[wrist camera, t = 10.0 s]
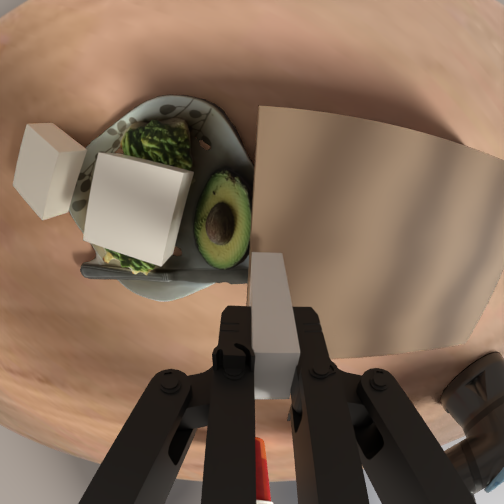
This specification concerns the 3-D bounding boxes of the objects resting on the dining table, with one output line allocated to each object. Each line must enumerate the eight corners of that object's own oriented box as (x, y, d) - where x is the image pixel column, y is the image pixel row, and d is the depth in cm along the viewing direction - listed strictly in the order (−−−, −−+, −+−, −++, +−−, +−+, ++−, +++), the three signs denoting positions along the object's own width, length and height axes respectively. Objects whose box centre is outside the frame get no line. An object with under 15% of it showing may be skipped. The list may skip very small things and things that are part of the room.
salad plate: (133, 321, 30) (121, 350, 26) (39, 187, 23) (11, 204, 19) (298, 255, 27) (307, 284, 23) (205, 69, 19) (194, 61, 15)
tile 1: (98, 152, 16) (118, 153, 19) (83, 240, 18) (102, 230, 20) (183, 173, 16) (193, 171, 19) (161, 266, 18) (173, 252, 21)
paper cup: (218, 441, 44) (214, 509, 32) (247, 430, 42) (248, 505, 29) (249, 452, 47) (250, 515, 35) (279, 441, 44) (284, 509, 32)
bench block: (466, 146, 21) (532, 173, 13) (426, 288, 28) (465, 343, 20) (255, 105, 20) (259, 105, 12) (245, 286, 28) (244, 359, 20)
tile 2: (87, 150, 19) (59, 152, 16) (67, 212, 22) (42, 220, 19) (52, 122, 19) (26, 123, 17) (36, 180, 22) (12, 185, 19)
